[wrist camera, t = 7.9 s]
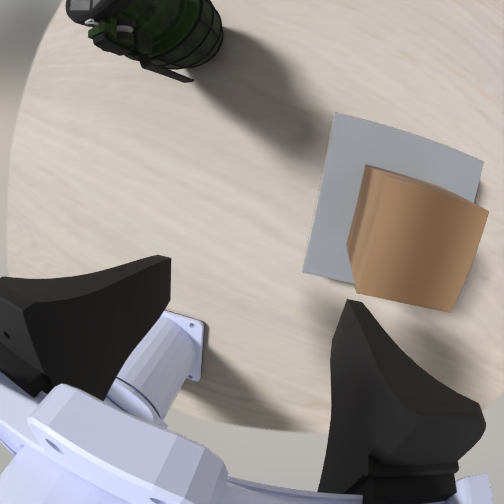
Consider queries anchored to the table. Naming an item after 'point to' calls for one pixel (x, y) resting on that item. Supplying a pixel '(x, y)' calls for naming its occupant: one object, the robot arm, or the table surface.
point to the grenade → (153, 31)
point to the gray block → (350, 177)
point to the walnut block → (412, 240)
